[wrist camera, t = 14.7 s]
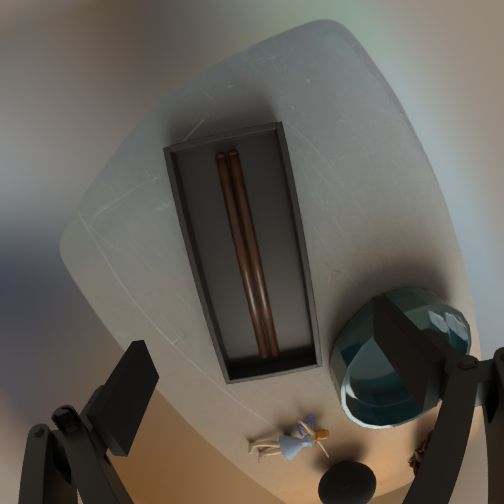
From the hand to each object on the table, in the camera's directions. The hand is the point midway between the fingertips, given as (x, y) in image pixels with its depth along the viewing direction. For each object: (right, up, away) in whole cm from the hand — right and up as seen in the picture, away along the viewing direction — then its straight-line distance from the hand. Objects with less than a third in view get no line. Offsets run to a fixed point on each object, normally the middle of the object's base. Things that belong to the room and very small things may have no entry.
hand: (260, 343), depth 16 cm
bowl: (+18, -8, +19) cm, 28 cm away
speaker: (+16, -33, +26) cm, 45 cm away
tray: (-1, +4, +16) cm, 17 cm away
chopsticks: (-1, +4, +15) cm, 16 cm away
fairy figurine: (+5, -23, +23) cm, 33 cm away
